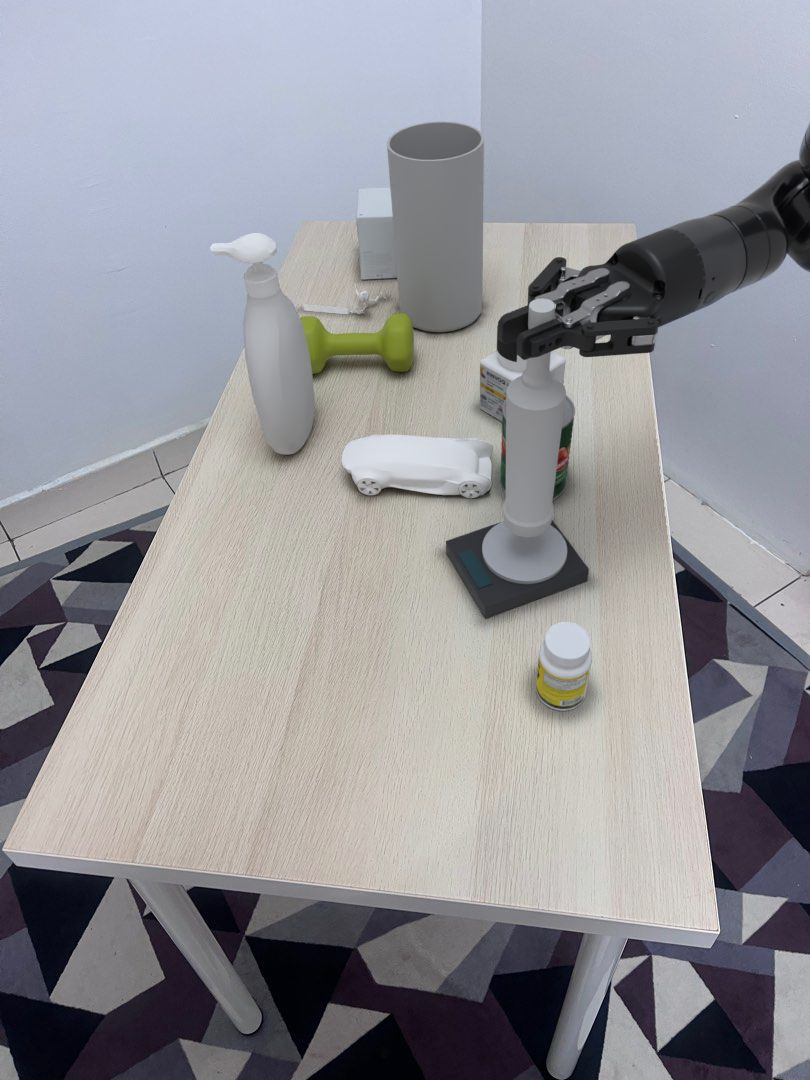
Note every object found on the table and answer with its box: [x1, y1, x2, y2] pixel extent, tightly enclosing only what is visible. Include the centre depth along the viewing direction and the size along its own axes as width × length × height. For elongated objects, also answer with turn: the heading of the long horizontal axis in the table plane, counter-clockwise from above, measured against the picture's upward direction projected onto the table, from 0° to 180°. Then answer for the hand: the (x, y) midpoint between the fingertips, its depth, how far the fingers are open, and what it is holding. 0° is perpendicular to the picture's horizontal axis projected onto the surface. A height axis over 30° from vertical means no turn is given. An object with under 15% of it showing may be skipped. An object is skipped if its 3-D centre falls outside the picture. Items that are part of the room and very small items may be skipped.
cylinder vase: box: [386, 120, 485, 333], centre depth 112 cm, size 12×12×25 cm
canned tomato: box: [499, 394, 576, 502], centre depth 91 cm, size 8×8×11 cm
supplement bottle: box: [535, 621, 593, 712], centre depth 73 cm, size 5×5×8 cm
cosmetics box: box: [355, 186, 397, 281], centre depth 128 cm, size 10×6×10 cm, turn 1°
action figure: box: [302, 283, 387, 315], centre depth 122 cm, size 12×5×7 cm
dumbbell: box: [300, 312, 415, 375], centre depth 110 cm, size 16×8×7 cm, turn 87°
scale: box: [445, 519, 590, 619], centre depth 85 cm, size 12×10×3 cm
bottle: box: [502, 298, 567, 537], centre depth 72 cm, size 5×5×25 cm
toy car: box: [341, 433, 494, 499], centre depth 95 cm, size 18×8×4 cm, turn 84°
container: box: [479, 325, 567, 422], centre depth 100 cm, size 8×8×13 cm
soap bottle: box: [209, 232, 315, 455], centre depth 94 cm, size 14×8×27 cm, turn 172°
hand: (510, 339), depth 64 cm, fingers closed on bottle, 2 cm apart
